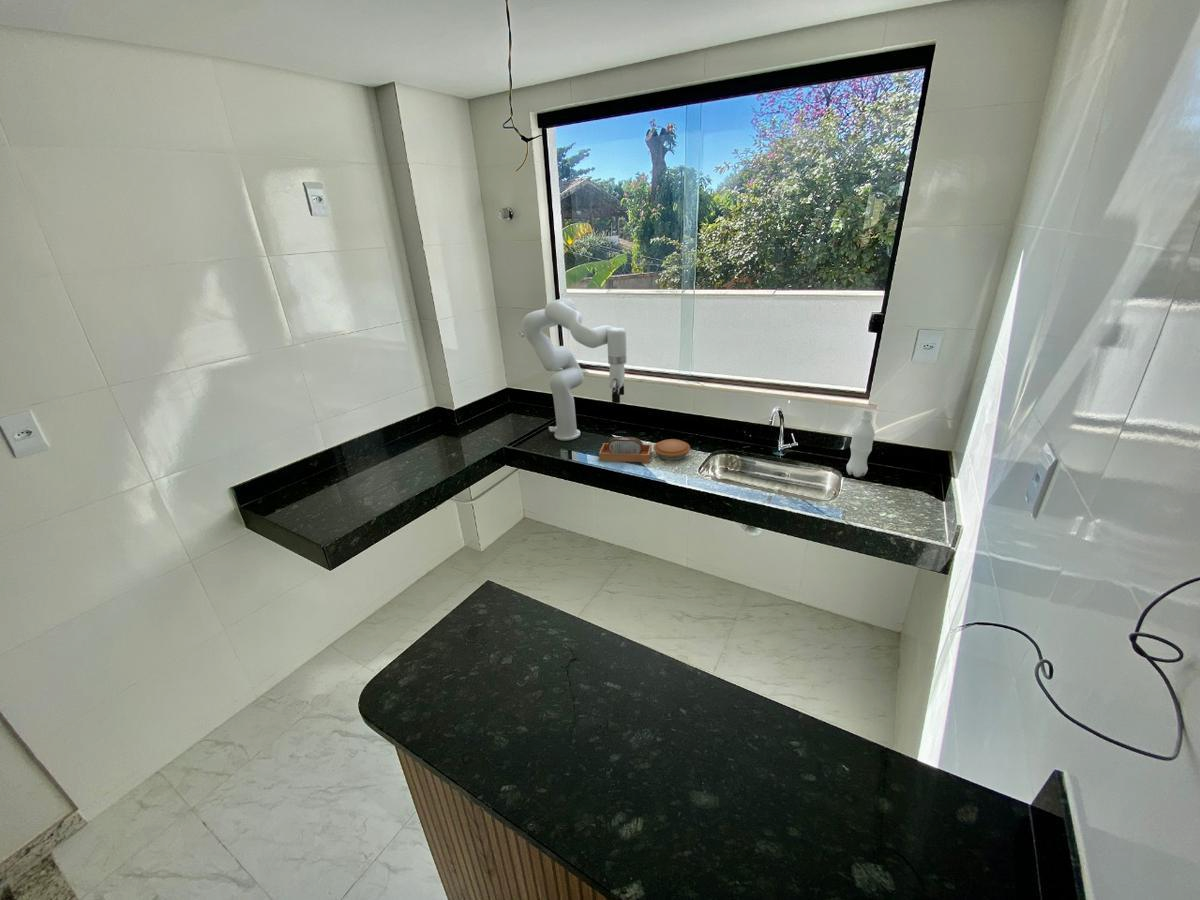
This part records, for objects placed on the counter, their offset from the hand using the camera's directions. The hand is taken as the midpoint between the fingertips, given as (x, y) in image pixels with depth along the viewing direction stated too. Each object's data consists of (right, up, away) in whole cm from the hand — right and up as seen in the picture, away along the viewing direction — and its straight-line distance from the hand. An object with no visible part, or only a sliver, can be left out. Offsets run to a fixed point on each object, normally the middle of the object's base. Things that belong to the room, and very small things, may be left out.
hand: (618, 398), depth 205 cm
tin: (+3, -24, +4) cm, 25 cm away
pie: (+23, -24, +3) cm, 33 cm away
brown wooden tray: (+3, -24, +4) cm, 25 cm away
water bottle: (+89, -31, -21) cm, 97 cm away
